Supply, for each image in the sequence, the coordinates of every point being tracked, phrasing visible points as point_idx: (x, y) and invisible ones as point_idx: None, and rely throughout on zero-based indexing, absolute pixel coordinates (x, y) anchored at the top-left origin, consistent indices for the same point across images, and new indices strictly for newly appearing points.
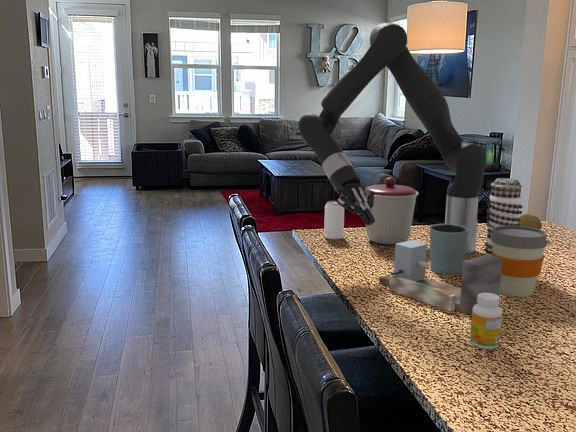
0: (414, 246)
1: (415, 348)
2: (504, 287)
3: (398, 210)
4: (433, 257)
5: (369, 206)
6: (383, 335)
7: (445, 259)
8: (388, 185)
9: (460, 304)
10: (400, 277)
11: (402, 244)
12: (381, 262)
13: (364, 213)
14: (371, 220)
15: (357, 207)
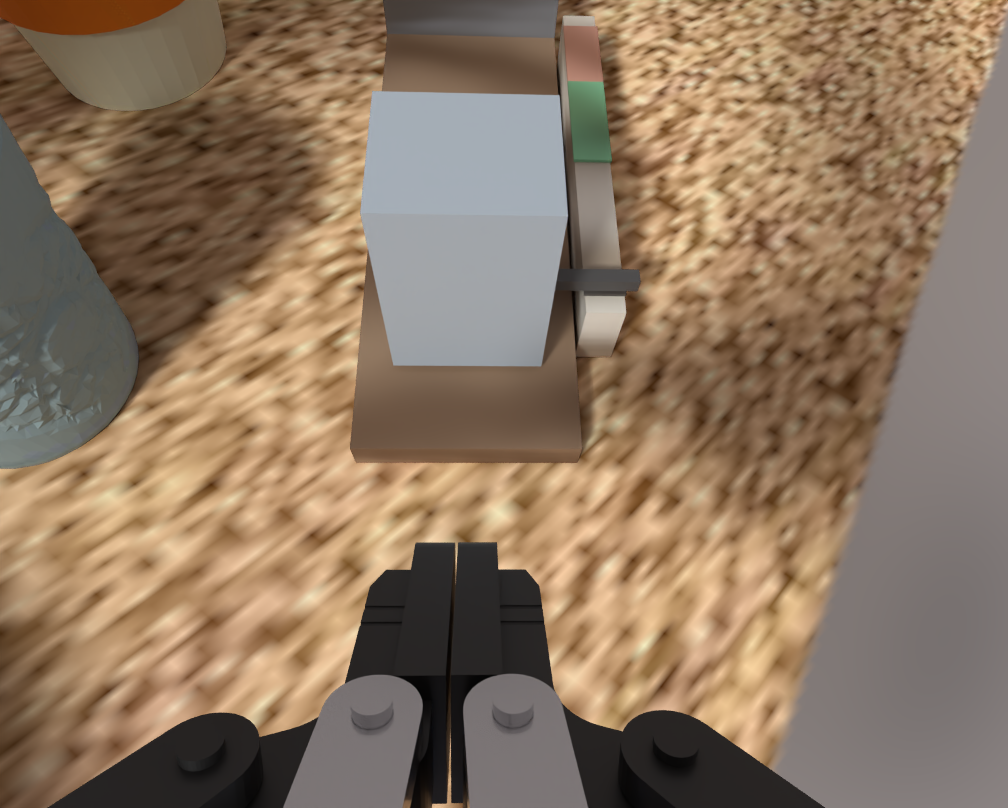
0: (504, 105)
1: (917, 2)
2: (218, 25)
3: None
4: (84, 354)
5: (261, 771)
6: (961, 91)
7: (95, 269)
8: None
9: (554, 35)
10: (593, 263)
11: (536, 176)
12: None
13: (526, 663)
14: (488, 542)
15: (684, 741)
